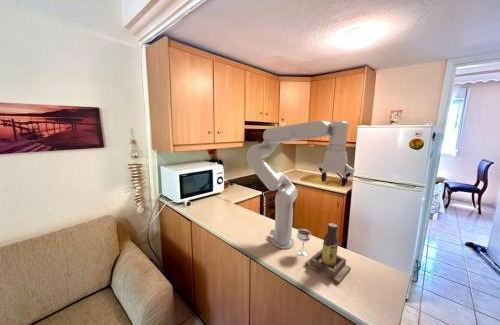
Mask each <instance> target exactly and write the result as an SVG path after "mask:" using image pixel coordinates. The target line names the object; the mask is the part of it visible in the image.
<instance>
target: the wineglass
mask: <svg viewBox="0 0 500 325" xmlns="http://www.w3.org/2000/svg"><path fill="white" fill-rule="evenodd" d="M311 234H312V233H311V231H310V230H309V229H306V228H298V229H297V239H298V240H299V242H302V245H301V246H302V249H300V250H297V254H298V255H299V256H301V257H306V256H308V252H307V251H305V250H304V246H305V243H307V242H309V241H310V240H311V238H312V236H311Z"/></svg>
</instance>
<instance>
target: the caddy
mask: <svg viewBox="0 0 500 325" xmlns="http://www.w3.org/2000/svg"><path fill="white" fill-rule="evenodd" d="M322 250H323V248H322V249H321V250H319V251H317V252H316V253H315V254H314V255H313V256H311V257H310V258H309V259H308V260H306V262H304V266H305V267H307V268H308V269H311V270H312V271H314V272H316V273H318V274H320V275H321V276H322V277H324V278H326V279H328V280H330V281H332V282H333V283H335V284H337V285H340V284H341V283H342V281H343V280H344V279H345V278H346V276H347V275H348V274H349V273H350V271H351V269H352V267H351V266H349V265H347V258H344V257H342V256H340V255H338V254H337V256H336V264H335V266H334V268H330V267H328V266H326V265H324V264H322V260H321V259H322Z"/></svg>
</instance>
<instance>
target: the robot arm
mask: <svg viewBox="0 0 500 325" xmlns="http://www.w3.org/2000/svg"><path fill="white" fill-rule="evenodd" d="M348 129H349V123H348V122H347V121H338V120H337V121H325V120H314V121H307V122H306V121H305V122H301V123H293V124H287V125H280V126H276V127H275V126H273V127H269V128H267V129H265V130H264V132H263V135H262V138H263V140H262V143H259V144H258V143H257V144H253V145H252V146H250V147H249V149H248V150H247V152H246V153H247V154H246V160H247V164H248V166H249V168H251V170H252V171H253V172H254V173H255V174H256V176H257V177H258V179H260V181H261V182H262V183H263V184H264V185H265V187H266V188H267V189H268V190H270V191H277V190H278V191H277V193H276V194H275V198H274V206H275V214H274V215H275V217H274V229H271V230H270V232H269V235H271V236H272V237H271V243H272V245H273V246H274V247H276V248H278V249H281V250H282V249H283V250H284V249H285V250H287V249H291V248H292V247H294V244H295V241H294V239H293V238H292V233H293V218H294V207H293V206H294V205H293V204H294V202H295V201H296V199H297V198H298V195H299V192H298V189H297V187H296V186H295V185H294V183H293V182H291V180H290V179H289V177H288V176H287V175H286V174H285V173H284V172H282V171H280V170H273V169H272V167H270V165H269V164H268V162H266V161H264V160H263V159H266V158H268V157H269V156H270V155H271V154H272V153H274V151H275V150H276V148H277V147H278V146H279V144H281V143H288V142H289V143H290V142H297V141H302V140H309V139H315V138H323V137H329V138H328V144H326V145H325V148H327V150H326V151H325V153H324V158H323V162H319V163H318V164H317V168H318V171H320V174H321V182H322V183H324V182H326V181H327V172H329V173H333V174H334V173H335V174H341V176H342V178H341V187H345V186H346V185H347V182H348V178H349V177H350V176H352V174H353V173H354V172H355V168H353V167H352V166H350V165H349V164H348V152H347V151H346V148H347V141H348V131H349V130H348ZM347 170H348V171H349V172H348V173H347Z"/></svg>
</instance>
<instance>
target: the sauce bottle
mask: <svg viewBox="0 0 500 325" xmlns="http://www.w3.org/2000/svg"><path fill="white" fill-rule="evenodd" d="M337 230H338V225H337V224H336V223H332V222H330V223H327V233H326V234H325V236H324V237H323V243H322V249H323V250H322V249H321V250H322V259H321V260H322V264H324V265H326V266H328V267H330V268H334V266H335V264H336V256H337V255H338V247H339V242H338V237H337V232H338V231H337Z"/></svg>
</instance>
